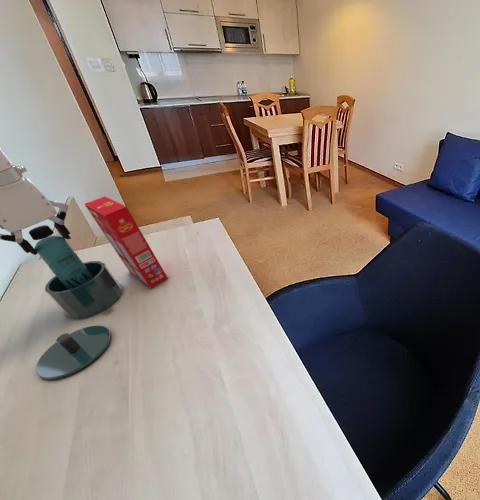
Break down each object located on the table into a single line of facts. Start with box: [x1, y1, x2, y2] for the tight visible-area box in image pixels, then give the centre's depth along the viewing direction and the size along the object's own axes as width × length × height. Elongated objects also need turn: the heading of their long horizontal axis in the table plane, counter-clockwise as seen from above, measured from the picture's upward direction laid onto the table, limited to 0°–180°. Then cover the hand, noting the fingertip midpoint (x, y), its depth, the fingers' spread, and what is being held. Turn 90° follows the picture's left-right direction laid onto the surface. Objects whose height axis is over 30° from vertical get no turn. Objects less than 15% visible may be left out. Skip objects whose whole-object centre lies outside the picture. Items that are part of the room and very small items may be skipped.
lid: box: [35, 325, 112, 380], centre depth 71 cm, size 15×15×6 cm
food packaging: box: [84, 195, 169, 289], centre depth 89 cm, size 15×5×25 cm, turn 54°
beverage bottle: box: [28, 224, 94, 290], centre depth 80 cm, size 6×7×20 cm
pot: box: [44, 260, 123, 320], centre depth 86 cm, size 14×19×10 cm
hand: (50, 244), depth 77 cm, fingers closed on beverage bottle, 6 cm apart
